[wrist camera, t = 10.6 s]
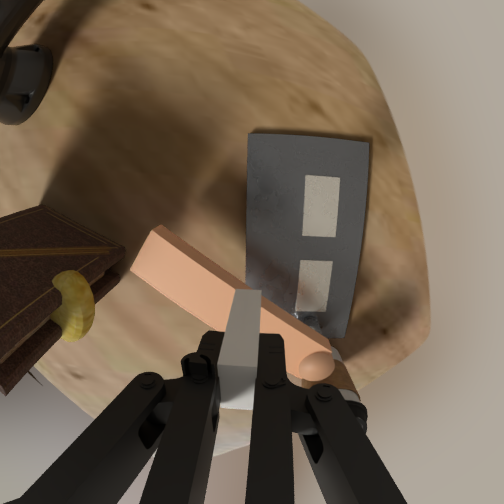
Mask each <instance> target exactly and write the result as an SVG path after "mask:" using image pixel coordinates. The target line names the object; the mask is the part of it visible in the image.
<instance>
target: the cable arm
mask: <svg viewBox="0 0 504 504" xmlns="http://www.w3.org/2000/svg"><path fill="white" fill-rule="evenodd" d="M130 270H131V271H132V272H133V273H135V274H136V275H137V276H139V277H140V278H141V279H143V280H144V281H145V282H147V283H148V284H150V285H151V286H152V287H154V288H155V289H156V290H158V291H159V292H161V293H162V294H163V295H165V296H166V297H168V298H169V299H170V300H172V301H173V302H175V303H176V304H178V305H179V306H181V307H182V308H183V309H185V310H186V311H188V312H189V313H191V314H192V315H194V316H195V317H197V318H198V319H200V320H201V321H203V322H204V323H206V324H208V325H209V326H211V327H212V328H214V329H215V330H217V331H222V332H225V330H226V326H227V322H228V318H229V314H230V310H231V306H232V302H233V298H234V294H235V290H236V289H249V290H253V289H252V288H250V287H249V286H247V285H246V284H245V283H243V282H242V281H240V280H239V279H237V278H236V277H234V276H233V275H231V274H230V273H229V272H227V271H226V270H224V269H223V268H221V267H220V266H219V265H217V264H216V263H214V262H213V261H211V260H210V259H209V258H207V257H206V256H204V255H203V254H202V253H200V252H199V251H197V250H196V249H195V248H193V247H192V246H190V245H189V244H188V243H186V242H185V241H183V240H182V239H181V238H179V237H178V236H176V235H175V234H174V233H172V232H171V231H170V230H168V229H167V228H165V227H164V226H163V225H159V226H157V227H156V228H154V229H152V230H151V232H150V234H149V235H148V237H147V239H146V241H145V243H144V244H143V246H142V248H141V250H140V252H139V254H138V255H137V257H136V259H135V261H134V263H133V265H132V267H131V269H130ZM260 333H274V334H280V335H281V336H282V338H283V339H284V345H285V359H286V371H287V372H289V373H290V374H292V375H294V376H296V377H298V378H300V379H302V378H304V379H305V380H308V381H319V380H323V379H325V378H327V377H328V376H330V375H331V373H332V372H333V371H334V368H335V363H334V360H333V356H332V349H331V346H330V342H329V339H327V338H326V337H324V336H323V335H321V334H320V333H318V332H316V331H315V330H313V329H312V328H310V327H309V326H307V325H306V324H304V323H303V322H301V321H300V320H298V319H297V318H295V317H294V316H292V315H291V314H289V313H287V312H286V311H284V310H283V309H281V308H280V307H278V306H277V305H275V304H274V303H273V302H271V301H270V300H268V299H267V298H265V297H264V296H262V295H261V316H260Z"/></svg>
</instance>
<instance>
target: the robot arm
mask: <svg viewBox="0 0 504 504" xmlns="http://www.w3.org/2000/svg"><path fill="white" fill-rule="evenodd" d="M42 1H43V0H0V122H1V123H3V124H5V125H19V124H21V123H23V122H24V121H26V120H27V119H28V118H29V117H30V116H31V115H32V114H33V112H34V111H35V110H36V108H37V107H38V105H39V103H40V102H41V100H42V98H43V96H44V94H45V91H46V89H47V86H48V84H49V81H50V77H51V73H52V66H53V59H52V54H51V52H50V50H49V49H48V48H46V47H44V46H41V45H37V44H32V45H24V46H16V47H8V45H9V43H10V42H11V41H12V39H13V38H14V36H15V35H16V34H17V32H18V31H19V29H20V28H21V27H22V26H23V24H24V23H25V22H26V20H27V19H28V18H29V17H30V15H31V14H32V13H33V12H34V11H35V9H36V8H37V7H38V6H39V5H40V4H41V3H42ZM261 291H262V290H249V289H236V290H235V294H234V298H233V302H232V306H231V310H230V314H229V318H228V322H227V326H226V330H225V332H222V331H207V332H206V333H205V334H204V335H203V336H202V339H201V341H200V344H199V347H198V350H197V352H194V353H190V354H187V355H186V356H184V357H183V358H182V360H181V365H182V371H183V377H180V378H177V379H168V380H164V379H163V378H162V377H161V375H159V374H157V373H154V372H144V373H141V374H139V375H137V376H136V377H135V378H134V379H133V380H132V381H131V382H130V383H129V384H128V385H127V386H126V387H125V388H124V389H123V391H122V392H121V393H120V394H119V395H118V396H117V397H116V398H115V399H114V400H113V401H112V402H111V403H110V404H109V405H108V406H107V407H106V408H105V409H104V410H103V412H102V413H101V414H100V415H99V416H98V417H97V418H96V419H95V420H94V421H93V422H92V423H91V424H90V425H89V426H88V427H87V428H86V429H85V430H84V431H83V433H82V434H81V435H80V436H79V437H78V438H77V439H76V440H75V441H74V442H73V443H72V444H71V445H70V446H69V447H68V448H67V449H66V450H65V451H64V452H63V454H62V455H61V456H60V457H59V458H58V459H57V460H56V461H55V462H54V463H53V464H52V465H51V466H50V467H49V468H48V469H47V470H46V471H45V472H44V474H42V476H41V477H40V478H39V479H38V480H37V481H36V482H35V483H34V484H33V485H32V486H31V487H30V488H29V489H28V490H27V491H26V492H25V493H24V495H22V496H21V497H20V498H18V499H15V500H13V501H10V502H7V503H4V504H117V503H118V501H119V500H120V499H121V497H122V496H123V495H124V493H125V492H126V491H127V489H128V488H129V487H130V485H131V484H132V483H133V481H134V480H135V478H136V477H137V476H138V474H139V473H140V472H141V470H142V469H143V467H144V466H145V465H146V463H147V462H148V460H149V459H150V458H151V456H152V455H153V453H154V452H155V451H156V449H157V448H158V449H157V451H156V454H155V457H154V461H153V464H152V466H151V470H150V472H149V475H148V478H147V481H146V485H145V488H144V490H143V493H142V497H141V500H140V503H139V504H204V500H205V494H206V488H207V483H208V478H209V472H210V466H211V461H212V456H213V450H214V445H215V439H216V434H217V428H218V423H219V407H220V404H221V408H231V409H244V410H253V415H252V428H251V440H250V452H249V465H248V476H247V487H246V498H245V504H294V472H293V446H292V432H295V433H298V435H299V437H300V440H301V442H302V445H303V447H304V450H305V452H306V455H307V457H308V460H309V462H310V464H311V467H312V470H313V472H314V475H315V477H316V479H317V482H318V484H319V487H320V489H321V492H322V494H323V496H324V499H325V501H326V503H327V504H407V502H406V501H405V499H404V497H403V495H402V494H401V492H400V490H399V489H398V487H397V485H396V484H395V482H394V481H393V479H392V477H391V475H390V474H389V472H388V470H387V469H386V467H385V465H384V464H383V462H382V460H381V459H380V457H379V455H378V454H377V452H376V450H375V449H374V447H373V445H372V444H371V442H370V440H369V439H368V437H367V436H366V434H365V432H364V430H363V429H362V427H361V425H360V424H359V422H358V420H357V419H356V417H355V415H354V414H353V412H352V410H351V409H350V407H349V405H348V404H347V402H346V400H345V399H344V397H343V396H342V394H341V392H340V391H339V390H338V389H337V388H336V387H335V386H333V385H331V384H327V383H318V384H316V385H313V386H312V387H311V388H309V389H307V388H302V387H299V386H296V385H294V384H293V383H292V382H290V381H289V379H288V378H287V374H286V359H285V345H284V339H283V338H282V336H281V335H280V334H274V333H260V316H261Z"/></svg>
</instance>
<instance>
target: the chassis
mask: <svg viewBox="0 0 504 504" xmlns="http://www.w3.org/2000/svg"><path fill="white" fill-rule="evenodd" d="M368 164H369V143H366V142H359V141H352V140H344V139H335V138H325V137H314V136H301V135H284V134H249V133H248V157H247V214H246V285H247V286H249V287H250V288H252V289H253V290H262V291H261V295H262V296H264V297H265V298H267V299H268V300H270V301H271V302H273V303H274V304H275V305H277V306H278V307H280V308H281V309H283V310H284V311H286V312H287V313H289V314H291V315H292V316H294V317H295V318H297V319H298V320H300V321H301V322H303V323H304V324H306V325H307V326H309V327H310V328H312V329H313V330H315V331H316V332H318V333H320V334H321V335H323V336H324V337H326V338H344V337H345V333H346V328H347V324H348V319H349V314H350V309H351V304H352V299H353V294H354V288H355V283H356V277H357V271H358V264H359V258H360V251H361V243H362V235H363V227H364V218H365V208H366V196H367V182H368Z"/></svg>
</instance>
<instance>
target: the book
mask: <svg viewBox="0 0 504 504" xmlns="http://www.w3.org/2000/svg"><path fill="white" fill-rule="evenodd" d="M125 252H126V250H125V247H123V246H121V245H119V244H117V243H115V242H113V241H111V240H109V239H107V238H105V237H103V236H101V235H99V234H97V233H96V232H94V231H92V230H90V229H88V228H86V227H84V226H82V225H80V224H78V223H77V222H75V221H73V220H71V219H69V218H67V217H65V216H64V215H62V214H60V213H58V212H56V211H55V210H53V209H51V208H49V207H47V206H46V205H39V206H35V207H32V208H29V209H26V210H22V211H19V212H16V213H13V214H10V215H7V216H4V217H1V218H0V391H1V392H2V393H3V394H4V395H5V396H7V394H8V393H9V392H10V391H11V390H12V389H13V388H14V386H15V385H16V384H17V383H18V382H19V381H20V380H21V379H22V377H23V376H24V375H25V374H26V373H27V372H28V371H29V370H30V369H31V367H32V366H33V365H34V364H35V363H36V362H37V361H38V360H39V359H40V358H41V357H42V356H43V355H44V354H45V353H46V352H47V351H48V350H49V349H50V348H51V347H52V346H53V345H54V344H55V343H56V342H57V341H58V340H59V339H60V338H61V339H63V340H65V341H68V342H75V341H77V340H79V339H81V338H83V337H84V336H85V334H86V333H87V332H88V331H89V329H90V328H91V326H92V323H93V320H94V316H95V304H96V303H97V302H98V301H99V300H100V299H102V298H103V297H104V296H105V295H106V294H107V293H108V292H109V291H110V290H111V289H113V288H114V287H115V286H116V285H117V284H118V283H119V278H120V277H119V274H117V273H115V272H113V271H111V270H109V268H110V267H111V266H113V265H114V264H115V263H117V262H118V261H119V260H121V259H122V258H124V256H125Z"/></svg>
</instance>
